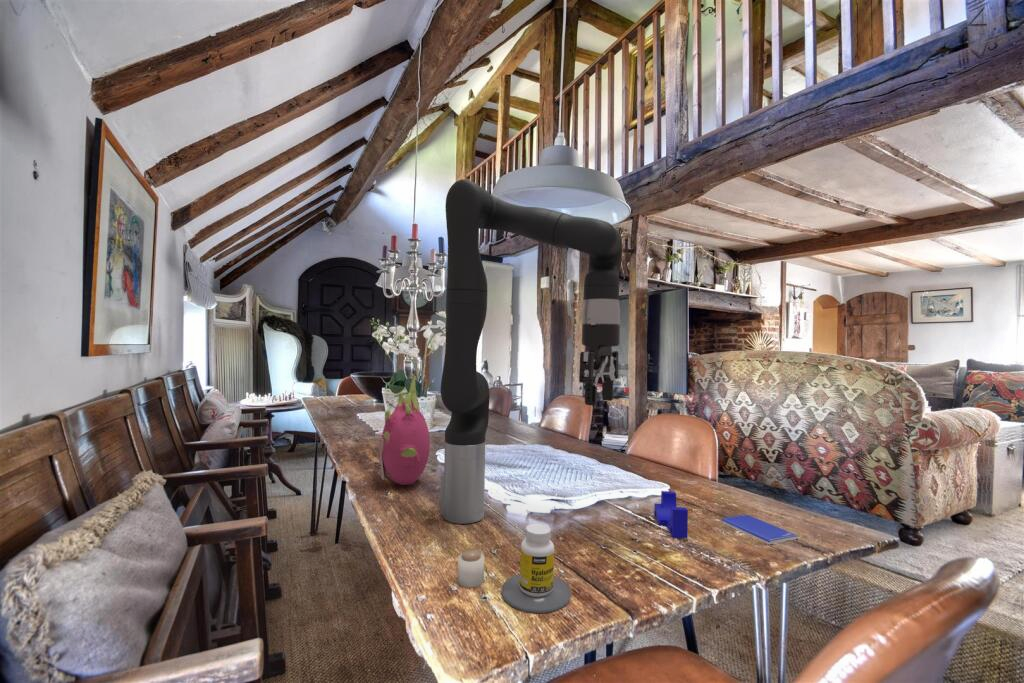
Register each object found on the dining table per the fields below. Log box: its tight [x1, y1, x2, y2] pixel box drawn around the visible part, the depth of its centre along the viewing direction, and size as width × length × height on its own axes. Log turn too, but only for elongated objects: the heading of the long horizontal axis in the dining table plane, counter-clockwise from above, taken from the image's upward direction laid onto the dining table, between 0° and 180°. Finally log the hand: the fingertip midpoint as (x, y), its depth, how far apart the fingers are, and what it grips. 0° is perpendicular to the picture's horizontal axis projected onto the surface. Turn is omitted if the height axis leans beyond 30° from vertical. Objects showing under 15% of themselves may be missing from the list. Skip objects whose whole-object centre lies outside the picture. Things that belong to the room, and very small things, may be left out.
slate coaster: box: [501, 573, 572, 614], centre depth 75 cm, size 11×11×1 cm
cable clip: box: [653, 490, 689, 539], centre depth 103 cm, size 12×4×6 cm, turn 173°
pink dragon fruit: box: [379, 375, 431, 486], centre depth 129 cm, size 18×14×30 cm
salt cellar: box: [457, 547, 485, 589], centre depth 79 cm, size 4×4×5 cm
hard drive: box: [721, 514, 799, 545], centre depth 101 cm, size 2×8×12 cm
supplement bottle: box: [519, 523, 555, 597], centre depth 75 cm, size 5×5×10 cm
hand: (599, 402), depth 95 cm, fingers open, 8 cm apart
